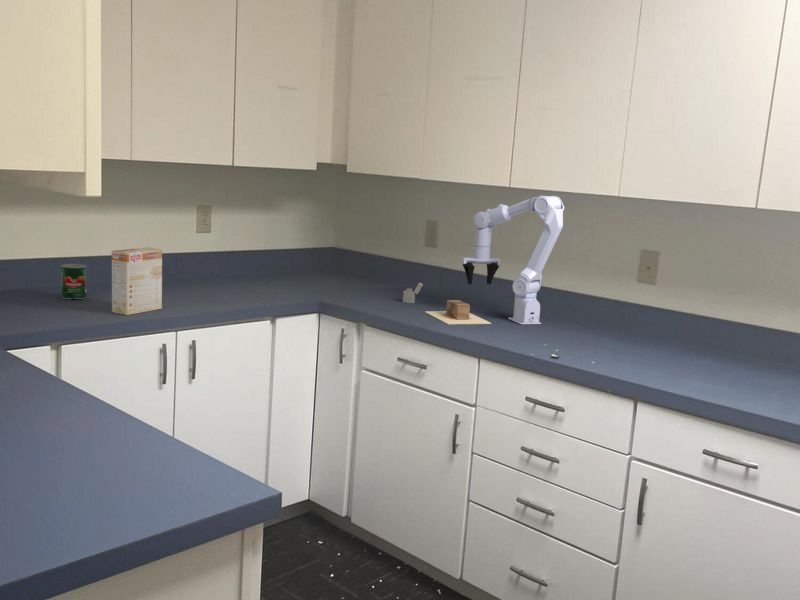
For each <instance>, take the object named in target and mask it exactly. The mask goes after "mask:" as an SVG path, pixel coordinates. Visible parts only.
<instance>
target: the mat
mask: <svg viewBox="0 0 800 600" xmlns="http://www.w3.org/2000/svg"><path fill="white" fill-rule="evenodd" d="M424 313H425V314H427V315H429V316H431V317H433V318H434V319H436V320H438V321H440V322H442V323H444V324H445V325H492V322H491V321H488V320H486V319H483V318H481V317H479V316H477V315H475V314H473V313H471V312H469V319H467V320H457V319H455V318H453V317H451V316H449V315H447V314H446V310H441V311H440V310H439V311H436V310H435V311H433V310H432V311H427V310H426V311H425V310H424Z"/></svg>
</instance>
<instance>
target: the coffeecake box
mask: <svg viewBox="0 0 800 600" xmlns="http://www.w3.org/2000/svg"><path fill="white" fill-rule="evenodd" d="M162 309H163V249H161V248H154V247H151V246H150V247H149V246H147V247H145V246H144V247H137V248H129V249H127V248H126V249H118V250H111V313H113V312H114V313H113V314H118V313H119V315H123V314H124V316H129V315H135V314H139V313H145V312H151V311H157V310H162Z"/></svg>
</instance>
